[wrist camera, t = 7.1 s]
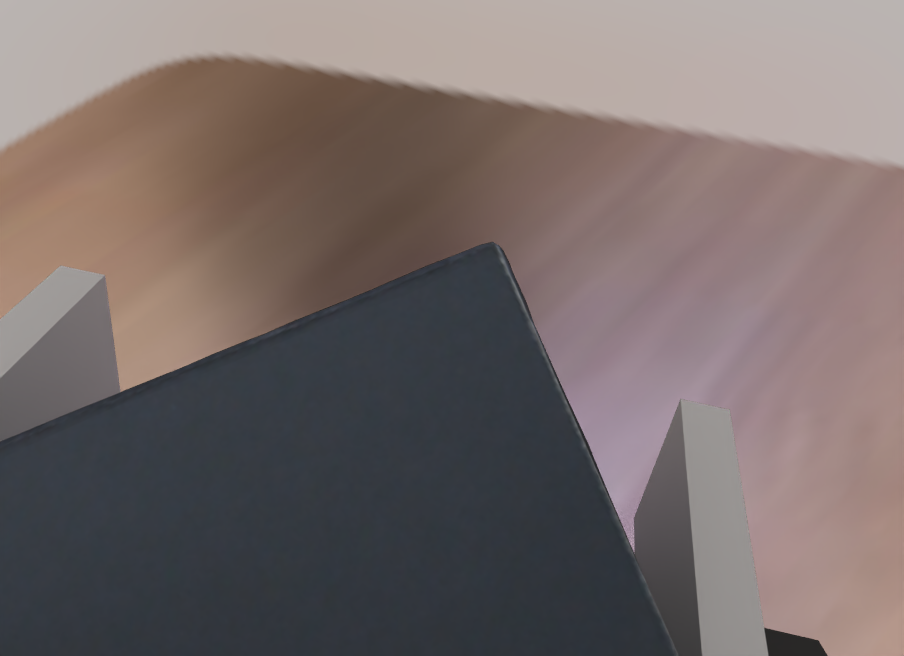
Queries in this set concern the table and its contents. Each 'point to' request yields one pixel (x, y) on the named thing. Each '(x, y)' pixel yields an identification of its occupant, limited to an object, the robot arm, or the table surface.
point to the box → (330, 497)
